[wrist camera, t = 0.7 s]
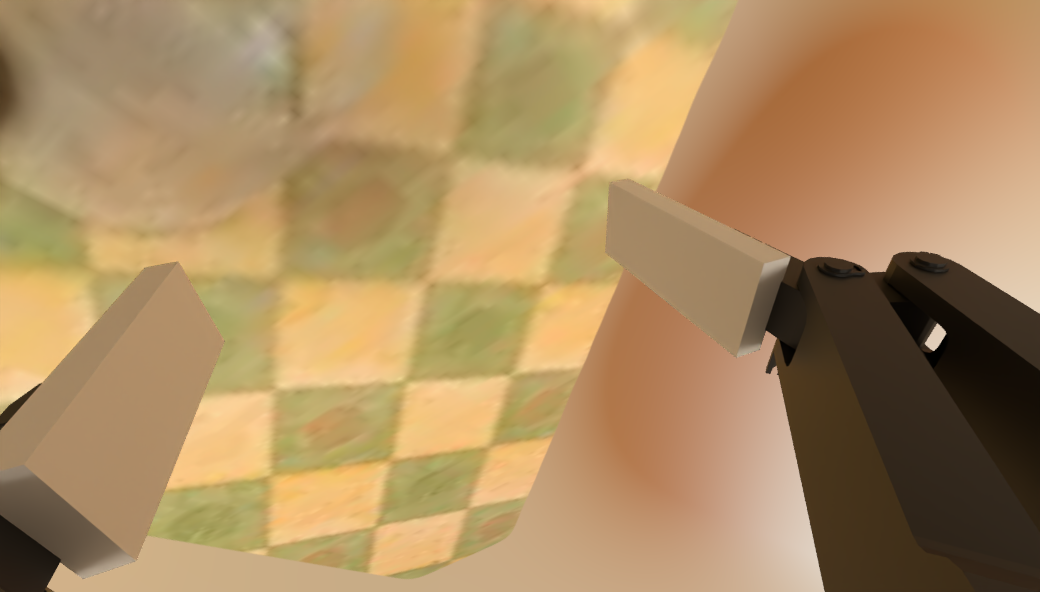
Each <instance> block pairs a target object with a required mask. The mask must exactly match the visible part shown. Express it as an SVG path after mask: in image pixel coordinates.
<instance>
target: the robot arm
mask: <svg viewBox="0 0 1040 592" xmlns="http://www.w3.org/2000/svg"><path fill="white" fill-rule="evenodd" d="M605 253H606V254H608V255H609V256H610V257H611V258H613V259H614V260H615V261H616V262H618V263H619V264H620V265H621V266H623V267H624V268H625V269H626V270H628V271H629V272H630V273H631V274H633V275H634V276H635V277H636V278H638V279H639V280H640V281H641V282H643V283H644V284H645V285H646V286H647V287H649V288H650V289H651V290H652V291H654V292H655V293H656V294H657V295H659V296H660V297H661V298H662V299H664V300H665V301H666V302H668V303H669V304H670V305H671V306H672V307H674V308H675V309H676V310H677V311H679V312H680V313H681V314H682V315H684V316H685V317H686V318H687V319H689V320H690V321H691V322H692V323H693V324H695V325H696V326H697V327H698V328H700V329H701V330H702V331H703V332H705V333H706V334H707V335H708V336H710V337H711V338H712V339H713V340H715V341H716V342H717V343H718V344H720V345H721V346H722V347H723V348H725V349H726V350H727V351H728V352H730V353H731V354H732V355H733V356H734V357H736V358H737V357H740V356H743V355H746V354H749V353H752V352H755V351H757V350H760V347H761V344H762V341H763V338H764V335H765V332H766V331H768V332H770V333H771V334H772V335H774V336H775V337H777V340H776V342H775V345H774V348H773V351H772V353H771V356H770V359H769V362H768V365H767V368H766V373H769V374H770V373H771V371H772V368H773V367H775V366H777V370H778V374H777V375H779V379H780V384H781V388H782V393H783V397H784V402H785V407H786V412H787V416H788V421H789V426H790V431H791V435H792V440H793V445H794V450H795V453H796V459H797V464H798V468H799V473H800V478H801V482H802V487H803V492H804V497H805V501H806V506H807V511H808V515H809V520H810V525H811V529H812V534H813V538H814V544H815V548H816V553H817V558H818V562H819V567H820V572H821V576H822V581H823V586H824V590H825V592H1040V314H1039V313H1037V312H1036V311H1034V310H1033V309H1031V308H1029V307H1028V306H1026V305H1024V304H1023V303H1021V302H1020V301H1018V300H1017V299H1015V298H1013V297H1011V296H1010V295H1009V294H1007V293H1005V292H1004V291H1002V290H1000V289H999V288H997V287H996V286H994V285H992V284H991V283H989V282H987V281H986V280H984V279H983V278H981V277H979V276H978V275H976V274H975V273H973V272H971V271H970V270H968V269H967V268H965V267H963V266H962V265H960V264H958V263H956V262H954V261H952V260H949V259H946V258H943V257H941V256H940V255H938V254H933V253H930V254H929V253H928V252H902V253H898V254H896V255H894V256H893V258H892V260H891V262H890V264H889V266H888V268H887V270H886V272H873V273H869V272H868V271H867V270H866V269H864V268H863V267H862V266H860V265H857V264H855V263H852V262H849V261H846V260H843V259H836V258H831V257H816V258H811V259H808V260H807V261H805V262H803V261H801V260H799V259H797V258H794V257H792V256H790V255H788V254H786V253H784V252H782V251H780V250H778V249H776V248H773V247H771V246H769V245H767V244H764V243H762V242H761V241H759V240H757V239H755V238H751V237H750V236H748V235H746V234H744V233H742V232H740V231H738V230H736V229H733V228H731V227H728V226H726V225H724V224H722V223H720V222H718V221H716V220H714V219H712V218H710V217H707V216H705V215H703V214H701V213H699V212H697V211H695V210H693V209H691V208H689V207H687V206H685V205H682V204H680V203H678V202H676V201H674V200H672V199H670V198H668V197H666V196H664V195H662V194H659V193H657V192H655V191H653V190H651V189H649V188H647V187H645V186H643V185H641V184H639V183H636V182H634V181H632V180H630V179H624V180H619V181H613V182H609V198H608V215H607V232H606V249H605ZM937 323H938V324H939V325H940V326H942V328H943V329H944V330H945V331H946V335H945V337H944V339H943V340H942V342H941V343H940V345H939V346H938V348H937V349H936V350H935V351H932V350H931V349H929V348H928V347H927V346H926V345H925V342H926V341H927V339H928V337H929V336H930V334H931V332H932V330H933V329H934V327H935V326H936V324H937ZM224 342H225V341H224V339H223V337H222V336H221V334H220V332H219V331H218V329H217V327H216V325H215V324H214V322H213V320H212V318H211V317H210V315H209V313H208V312H207V310H206V308H205V306H204V305H203V303H202V301H201V299H200V298H199V296H198V294H197V293H196V291H195V289H194V287H193V286H192V284H191V282H190V280H189V279H188V277H187V275H186V274H185V272H184V270H183V268H182V267H181V265H180V263H179V262H173V263H167V264H162V265H157V266H151V267H146V268H144V269H143V270H142V272H141V273H140V274H139V275H138V276H137V277H136V278H135V279H134V281H133V282H132V283H131V284H130V285H129V286H128V287H127V288H126V290H125V291H124V292H123V293H122V294H121V295H120V296H119V297H118V299H117V300H116V301H115V302H114V303H113V304H112V305H111V306H110V308H109V309H108V310H107V311H106V312H105V313H104V314H103V315H102V317H101V318H100V319H99V320H98V321H97V322H96V323H95V324H94V326H93V327H92V328H91V329H90V330H89V331H88V332H87V333H86V335H85V336H84V337H83V338H82V339H81V340H80V341H79V342H78V344H77V345H76V346H75V347H74V348H73V349H72V350H71V351H70V353H69V354H68V355H67V356H66V357H65V358H64V359H63V360H62V361H61V363H60V364H59V365H58V366H57V367H56V368H55V369H54V370H53V372H52V373H51V374H50V375H49V376H48V377H47V378H46V379H45V381H44V382H43V383H41V384H38V385H37V386H36V387H34V388H33V389H31V390H30V391H29V392H27V393H26V394H24V395H23V396H22V397H20V398H19V399H17V400H16V401H15V402H13V403H12V404H10V405H9V406H8V407H7V409H6V410H5V411H4V412H3V413H2V414H1V415H0V592H53V591H52V590H51V589H49V588H47V585H48V583H49V581H50V580H51V578H52V576H53V574H54V572H55V570H56V569H57V567H58V565H59V563H62V564H63V565H65V566H66V567H67V568H69V569H70V570H72V571H73V572H74V573H76V574H77V575H78V576H80V577H81V578H83V579H85V578H88V577H91V576H94V575H97V574H100V573H103V572H106V571H109V570H111V569H114V568H118V567H120V566H123V565H126V564H129V563H132V562H135V561H136V560H137V558H138V555H139V553H140V550H141V548H142V545H143V543H144V541H145V538H146V536H147V533H148V531H149V528H150V526H151V523H152V521H153V518H154V516H155V513H156V511H157V508H158V506H159V503H160V501H161V498H162V496H163V493H164V491H165V488H166V486H167V483H168V481H169V478H170V476H171V474H172V471H173V469H174V466H175V464H176V461H177V459H178V456H179V454H180V451H181V449H182V446H183V444H184V441H185V439H186V436H187V434H188V431H189V429H190V426H191V424H192V421H193V419H194V416H195V414H196V411H197V409H198V406H199V404H200V402H201V399H202V397H203V394H204V392H205V389H206V387H207V384H208V382H209V379H210V377H211V374H212V372H213V369H214V367H215V364H216V362H217V359H218V357H219V354H220V352H221V349H222V347H223V344H224Z"/></svg>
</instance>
